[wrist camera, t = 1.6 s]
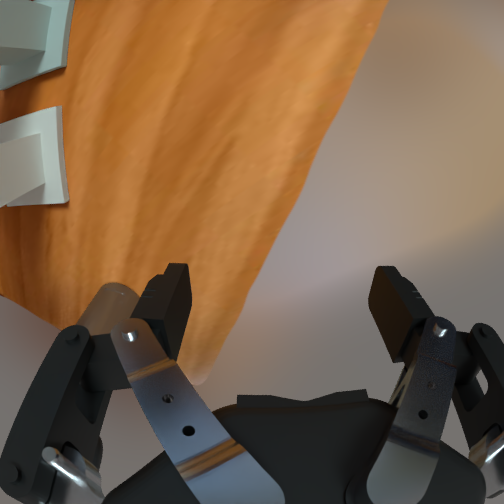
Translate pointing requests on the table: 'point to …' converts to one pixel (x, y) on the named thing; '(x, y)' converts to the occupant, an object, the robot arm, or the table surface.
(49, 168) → the tall pedestal
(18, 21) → the low pedestal
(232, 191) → the table surface
